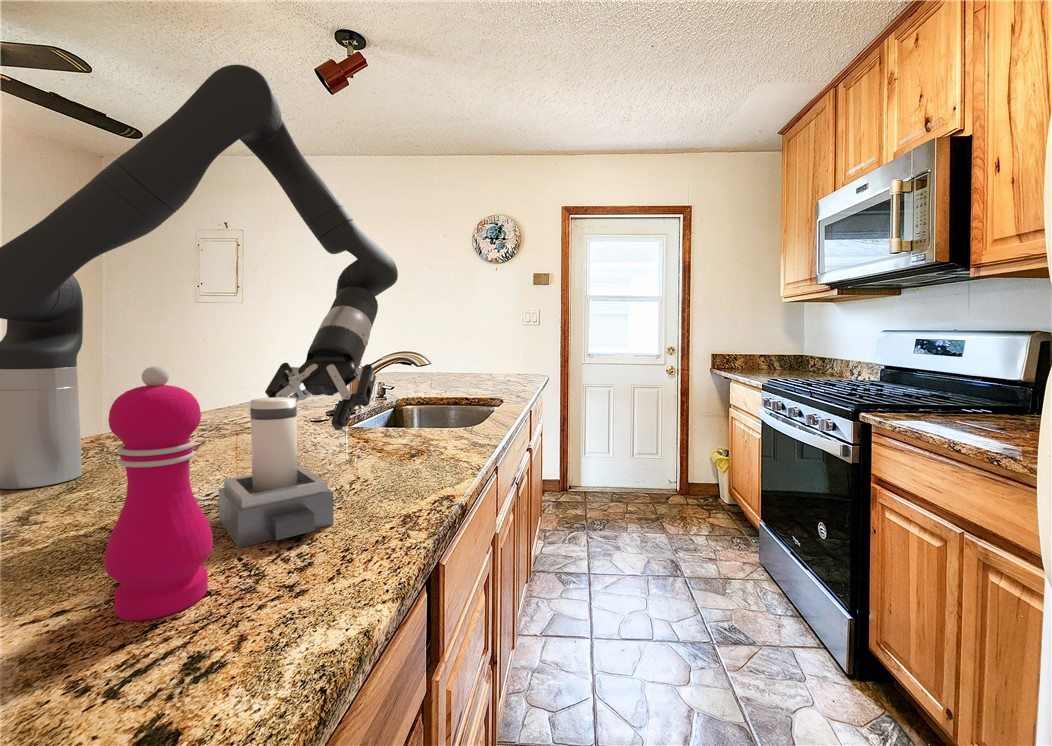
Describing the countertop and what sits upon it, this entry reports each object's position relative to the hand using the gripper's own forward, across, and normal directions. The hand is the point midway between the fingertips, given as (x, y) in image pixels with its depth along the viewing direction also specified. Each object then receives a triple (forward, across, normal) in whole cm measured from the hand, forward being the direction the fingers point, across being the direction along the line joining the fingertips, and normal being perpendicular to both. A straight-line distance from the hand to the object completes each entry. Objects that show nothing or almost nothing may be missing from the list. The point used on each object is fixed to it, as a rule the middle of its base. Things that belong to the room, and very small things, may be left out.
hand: (305, 426), depth 63 cm
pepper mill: (+25, 0, -10) cm, 26 cm away
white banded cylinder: (+10, 0, 0) cm, 10 cm away
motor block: (+13, +1, +2) cm, 13 cm away
